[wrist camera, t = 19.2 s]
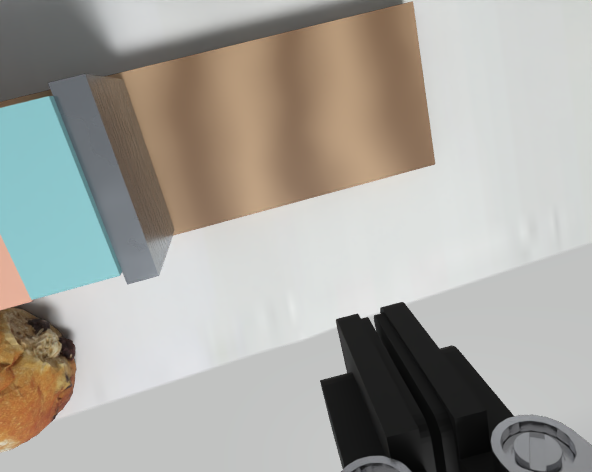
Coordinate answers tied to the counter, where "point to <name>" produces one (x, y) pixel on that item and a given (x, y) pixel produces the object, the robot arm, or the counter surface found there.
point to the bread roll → (31, 375)
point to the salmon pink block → (10, 281)
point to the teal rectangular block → (48, 204)
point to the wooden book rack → (283, 116)
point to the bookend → (117, 170)
